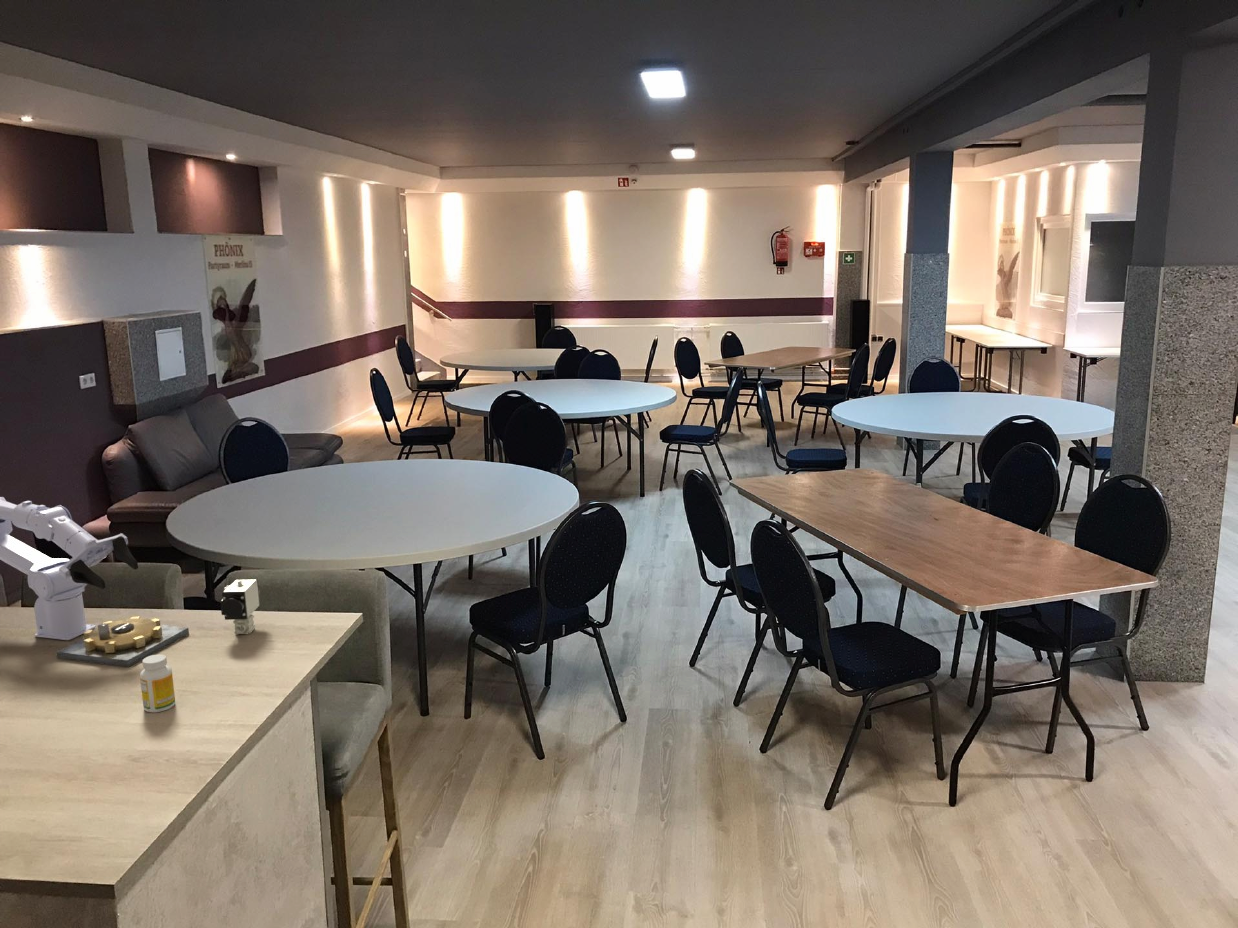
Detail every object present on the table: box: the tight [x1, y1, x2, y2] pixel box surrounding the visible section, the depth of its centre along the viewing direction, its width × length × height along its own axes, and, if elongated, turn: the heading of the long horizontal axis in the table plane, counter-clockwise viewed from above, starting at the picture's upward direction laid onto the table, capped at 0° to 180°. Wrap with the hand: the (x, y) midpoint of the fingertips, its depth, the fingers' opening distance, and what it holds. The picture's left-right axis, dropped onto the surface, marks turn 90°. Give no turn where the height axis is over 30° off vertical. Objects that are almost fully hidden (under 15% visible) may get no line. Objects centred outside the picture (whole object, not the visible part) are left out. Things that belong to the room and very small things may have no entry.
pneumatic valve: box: [219, 578, 261, 636], centre depth 213 cm, size 6×12×12 cm, turn 2°
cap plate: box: [55, 624, 190, 668], centre depth 207 cm, size 18×18×2 cm
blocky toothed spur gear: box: [83, 616, 162, 653], centre depth 207 cm, size 15×15×5 cm
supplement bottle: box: [139, 653, 176, 713], centre depth 178 cm, size 5×5×10 cm
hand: (120, 575), depth 203 cm, fingers open, 7 cm apart
